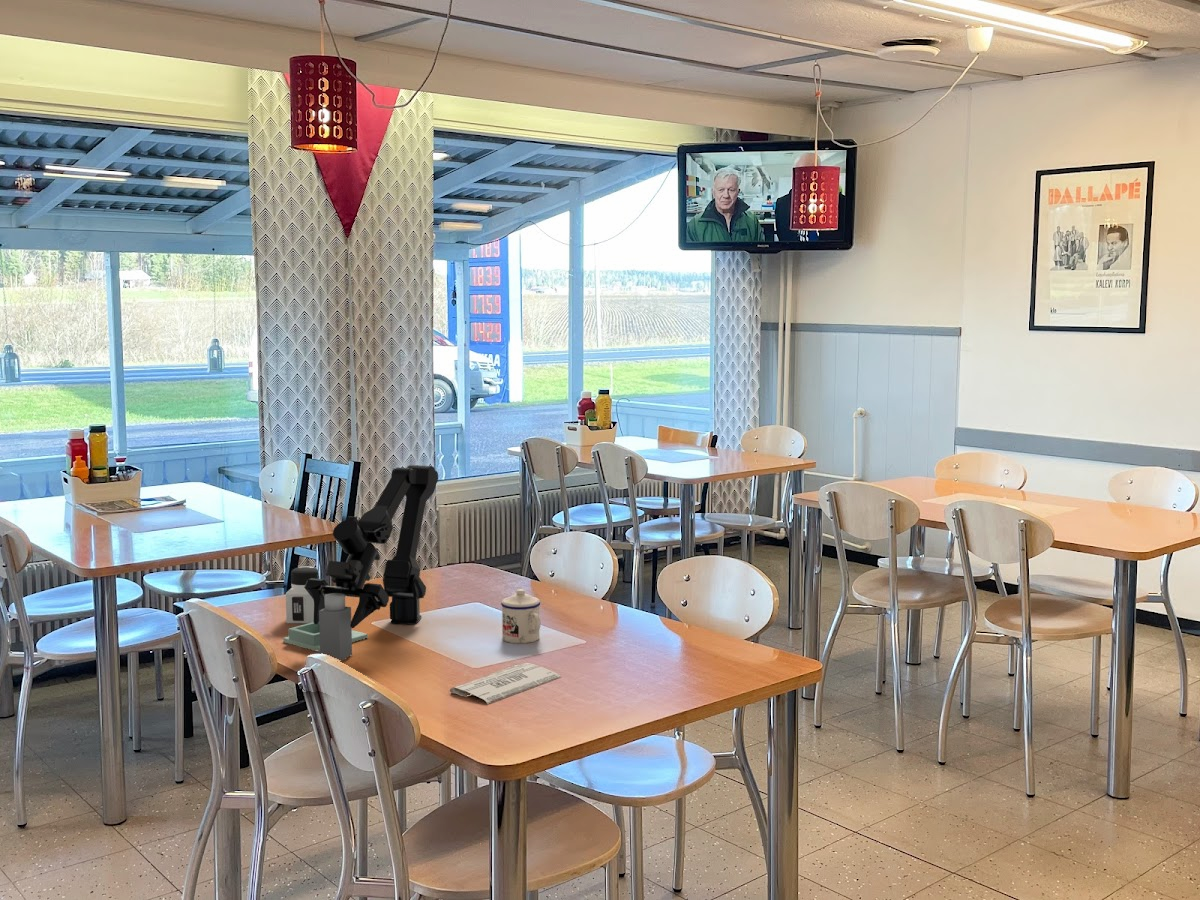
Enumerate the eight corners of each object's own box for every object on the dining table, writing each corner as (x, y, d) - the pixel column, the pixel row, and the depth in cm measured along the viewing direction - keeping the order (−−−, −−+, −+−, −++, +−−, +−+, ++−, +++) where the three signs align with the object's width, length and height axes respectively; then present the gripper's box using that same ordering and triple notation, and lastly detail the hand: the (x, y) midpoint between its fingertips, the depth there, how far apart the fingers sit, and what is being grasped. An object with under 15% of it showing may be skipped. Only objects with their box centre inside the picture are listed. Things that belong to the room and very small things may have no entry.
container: (317, 623, 283) (316, 571, 282) (286, 623, 283) (284, 571, 282) (325, 615, 291) (324, 564, 289) (294, 615, 291) (293, 564, 289)
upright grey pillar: (332, 653, 259) (330, 591, 258) (352, 655, 258) (350, 593, 256) (320, 659, 255) (318, 597, 253) (340, 661, 253) (338, 599, 251)
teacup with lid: (493, 637, 272) (493, 589, 270) (526, 631, 277) (525, 583, 276) (522, 649, 262) (522, 599, 261) (555, 642, 268) (555, 593, 266)
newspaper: (517, 668, 250) (518, 657, 250) (560, 685, 243) (561, 674, 242) (440, 694, 233) (441, 682, 233) (483, 714, 226) (484, 701, 225)
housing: (331, 628, 279) (331, 614, 278) (367, 638, 271) (367, 623, 270) (283, 641, 268) (283, 627, 267) (319, 652, 260) (319, 636, 259)
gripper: (307, 543, 260) (280, 602, 251) (381, 548, 254) (356, 609, 245) (327, 570, 269) (302, 628, 260) (399, 576, 263) (376, 636, 254)
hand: (333, 625), depth 254 cm, fingers open, 9 cm apart
